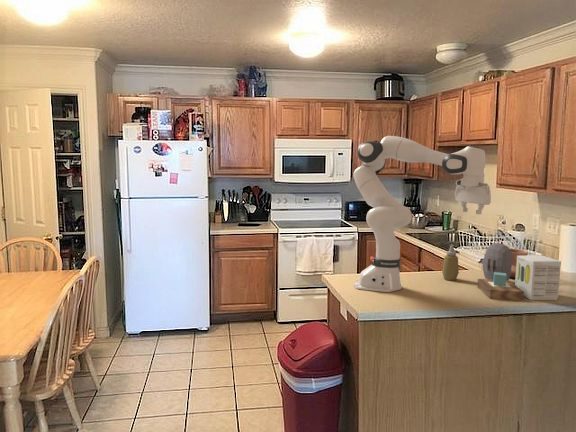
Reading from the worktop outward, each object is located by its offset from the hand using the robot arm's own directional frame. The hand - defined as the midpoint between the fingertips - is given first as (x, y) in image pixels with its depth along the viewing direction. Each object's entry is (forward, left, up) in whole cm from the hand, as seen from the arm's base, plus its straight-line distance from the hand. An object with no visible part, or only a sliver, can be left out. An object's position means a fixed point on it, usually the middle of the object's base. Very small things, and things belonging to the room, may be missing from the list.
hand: (471, 213), depth 213 cm
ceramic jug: (+33, +38, -37) cm, 63 cm away
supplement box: (+30, 0, -37) cm, 48 cm away
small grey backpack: (+20, +24, -37) cm, 49 cm away
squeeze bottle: (-2, +25, -37) cm, 45 cm away
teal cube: (+15, +2, -33) cm, 36 cm away
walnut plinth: (+15, +2, -37) cm, 40 cm away
